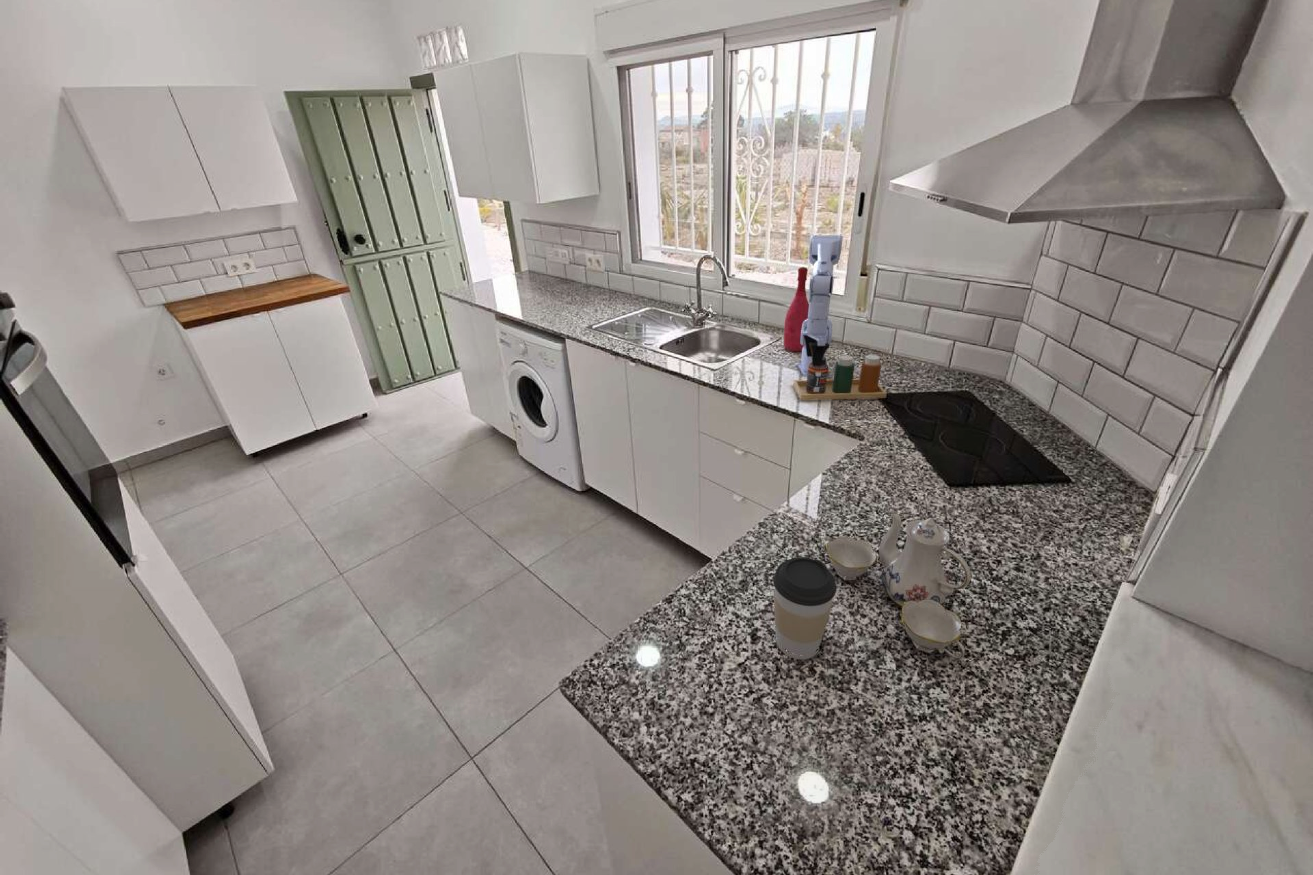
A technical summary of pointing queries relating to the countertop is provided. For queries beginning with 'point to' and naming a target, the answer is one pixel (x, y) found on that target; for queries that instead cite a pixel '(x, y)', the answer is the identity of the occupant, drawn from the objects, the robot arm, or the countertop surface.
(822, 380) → the supplement bottle
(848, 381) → the dark green bottle
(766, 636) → the countertop surface
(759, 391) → the countertop surface
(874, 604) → the countertop surface
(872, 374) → the amber bottle
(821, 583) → the coffee cup
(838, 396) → the tray
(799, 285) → the wine bottle
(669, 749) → the countertop surface
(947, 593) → the chinaware
